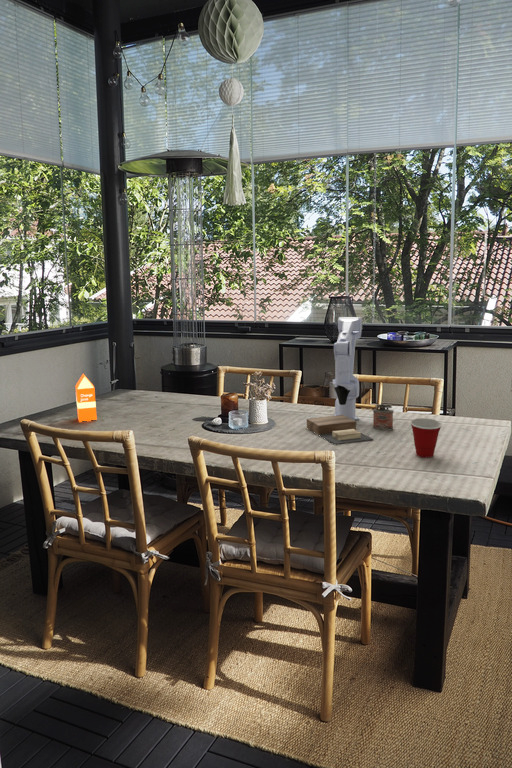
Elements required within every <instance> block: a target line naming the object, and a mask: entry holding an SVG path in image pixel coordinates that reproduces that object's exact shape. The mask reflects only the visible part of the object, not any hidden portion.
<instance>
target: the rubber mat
mask: <svg viewBox="0 0 512 768" xmlns="http://www.w3.org/2000/svg"><path fill="white" fill-rule="evenodd" d="M359 432H360V433H361V438H354V439H346V440H338V439H336V438H334V437H333V436H332V433H327V434H319V435H320V436H321V437H320V436H319V435H318V436H319V437H320V438H322V437H323V438H322V439H324V438H325V439H326V441H327V440H328V441H327V442H329V441H330V442H329V443H330V444H332V443H333V445H334V444H339V445H345V444H346V443H347V444H354V443H355V444H356V443H361V442H363V443H364V442H370V441H374V438H372V437H370V436H368V435H367V434H364V433H363V432H361V431H359ZM325 439H324V440H325Z"/></svg>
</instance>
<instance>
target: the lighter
mask: <svg viewBox="0 0 512 768" xmlns="http://www.w3.org/2000/svg"><path fill="white" fill-rule="evenodd" d="M375 407H376V408H373V410H372V413H373V414H372V415H373V420H372V421H373V425H372V428H373V429H374V428H375V430H386V429H387V430H388V429H391V430H393V429H394V426H393V425H394V424H393V423H394V419H393V416H394V409H392V408H393V407H392V404H390V403H389V404H388V403H386V404H384V403H381V404H378V403H376V405H375ZM388 431H389V430H388Z"/></svg>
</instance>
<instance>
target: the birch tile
mask: <svg viewBox="0 0 512 768" xmlns="http://www.w3.org/2000/svg"><path fill="white" fill-rule="evenodd" d="M360 432H361V431H359V430H357V429H356V430H355V429H348V430H339V431H332V436H333V437H334V438H336V439H338V440H346V439H354V438H361V433H362V432H361V433H360Z"/></svg>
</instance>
